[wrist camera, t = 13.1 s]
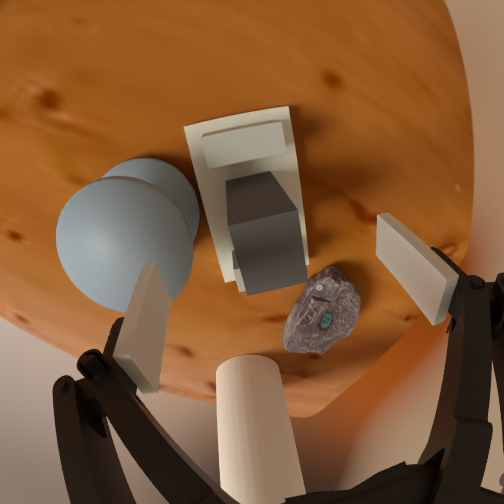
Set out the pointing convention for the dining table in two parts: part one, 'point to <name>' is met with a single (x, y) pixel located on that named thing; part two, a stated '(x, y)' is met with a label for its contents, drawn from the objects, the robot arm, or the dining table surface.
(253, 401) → the cylinder container
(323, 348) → the rock
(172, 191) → the spool
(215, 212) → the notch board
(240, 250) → the gray rectangular block
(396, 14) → the dining table surface
